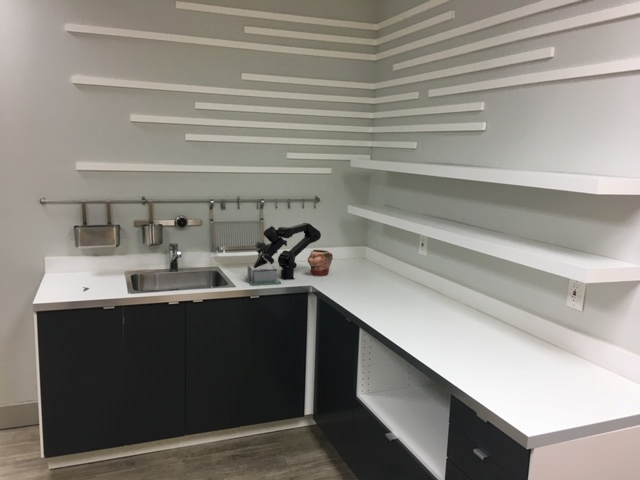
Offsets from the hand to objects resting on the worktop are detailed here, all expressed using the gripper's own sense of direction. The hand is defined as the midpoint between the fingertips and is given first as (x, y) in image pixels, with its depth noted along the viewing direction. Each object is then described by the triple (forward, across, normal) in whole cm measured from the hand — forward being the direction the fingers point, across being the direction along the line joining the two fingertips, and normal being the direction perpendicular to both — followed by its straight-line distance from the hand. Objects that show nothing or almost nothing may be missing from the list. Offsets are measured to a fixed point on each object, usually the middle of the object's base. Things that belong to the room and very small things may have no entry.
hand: (254, 267), depth 278 cm
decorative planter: (-24, -10, +36) cm, 44 cm away
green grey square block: (+2, 0, +9) cm, 10 cm away
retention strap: (-3, 0, +4) cm, 5 cm away
